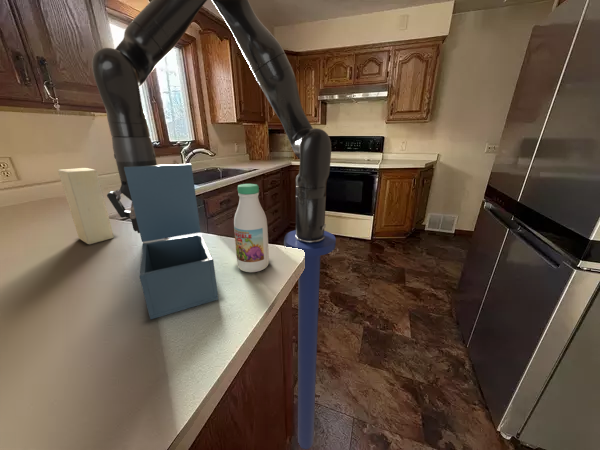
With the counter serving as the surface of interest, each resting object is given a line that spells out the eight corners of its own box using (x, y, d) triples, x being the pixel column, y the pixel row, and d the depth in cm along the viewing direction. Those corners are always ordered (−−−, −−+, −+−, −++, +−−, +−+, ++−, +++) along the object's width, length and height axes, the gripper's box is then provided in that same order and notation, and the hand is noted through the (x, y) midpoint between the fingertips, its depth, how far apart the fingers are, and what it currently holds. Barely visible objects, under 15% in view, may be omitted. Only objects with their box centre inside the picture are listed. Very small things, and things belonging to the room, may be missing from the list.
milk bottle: (248, 255, 65) (242, 181, 58) (274, 260, 63) (271, 183, 56) (231, 269, 58) (222, 187, 52) (259, 275, 56) (254, 189, 49)
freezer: (218, 299, 48) (213, 259, 45) (150, 319, 42) (139, 276, 39) (205, 266, 60) (200, 233, 57) (151, 279, 54) (142, 243, 51)
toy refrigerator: (117, 236, 77) (99, 169, 70) (88, 245, 71) (65, 172, 64) (106, 231, 81) (88, 167, 74) (78, 238, 75) (56, 169, 68)
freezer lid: (191, 164, 50) (188, 160, 55) (123, 167, 45) (126, 163, 49) (200, 232, 56) (197, 224, 61) (141, 242, 51) (142, 232, 55)
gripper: (171, 156, 61) (182, 221, 66) (99, 158, 54) (118, 230, 60) (173, 158, 54) (185, 230, 60) (92, 161, 48) (114, 241, 54)
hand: (151, 229), depth 60 cm, fingers open, 4 cm apart
